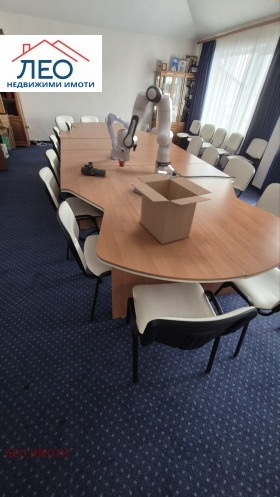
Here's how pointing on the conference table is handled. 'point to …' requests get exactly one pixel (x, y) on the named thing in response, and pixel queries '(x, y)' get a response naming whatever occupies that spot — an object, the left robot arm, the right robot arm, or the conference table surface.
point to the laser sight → (92, 170)
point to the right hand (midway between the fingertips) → (121, 164)
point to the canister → (121, 163)
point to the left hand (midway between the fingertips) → (131, 151)
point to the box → (168, 205)
